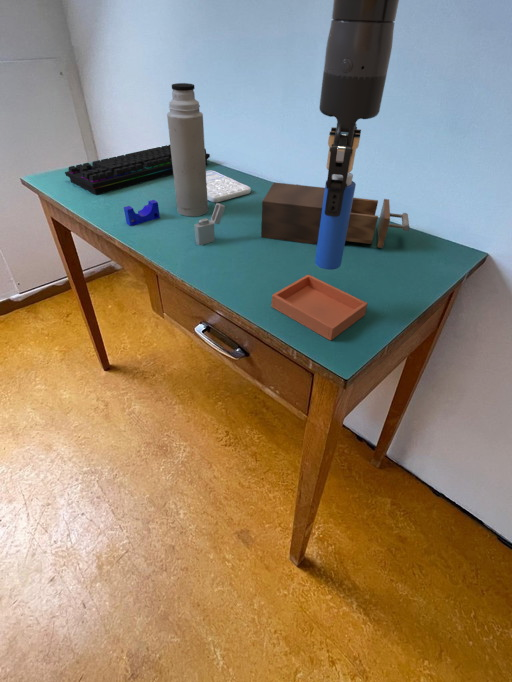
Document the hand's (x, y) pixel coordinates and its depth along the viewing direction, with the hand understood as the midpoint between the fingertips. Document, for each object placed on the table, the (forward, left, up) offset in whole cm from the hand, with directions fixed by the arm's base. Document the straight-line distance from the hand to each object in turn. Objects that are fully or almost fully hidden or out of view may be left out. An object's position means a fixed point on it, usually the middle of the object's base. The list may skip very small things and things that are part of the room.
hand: (333, 208), depth 58 cm
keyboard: (+62, -60, -19) cm, 88 cm away
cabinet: (+9, -32, -19) cm, 38 cm away
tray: (0, 0, -19) cm, 19 cm away
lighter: (+27, -21, -19) cm, 39 cm away
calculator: (+37, -53, -19) cm, 67 cm away
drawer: (-7, -32, -18) cm, 37 cm away
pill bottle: (0, 0, -9) cm, 9 cm away
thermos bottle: (+37, -36, -19) cm, 55 cm away
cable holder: (+47, -27, -19) cm, 57 cm away
